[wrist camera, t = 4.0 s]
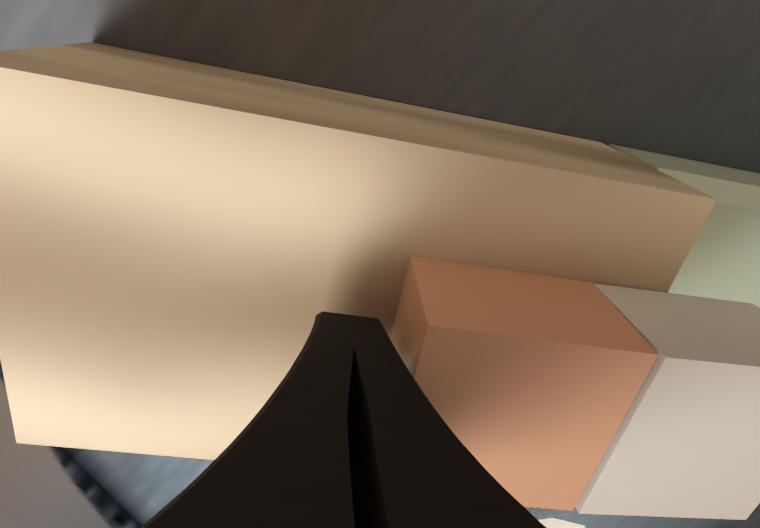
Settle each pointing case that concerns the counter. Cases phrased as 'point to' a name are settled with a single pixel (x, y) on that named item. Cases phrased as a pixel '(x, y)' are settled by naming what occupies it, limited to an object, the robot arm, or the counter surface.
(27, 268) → the wooden box
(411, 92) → the counter surface
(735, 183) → the box
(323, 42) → the counter surface
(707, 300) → the cream square block
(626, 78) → the counter surface
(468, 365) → the terracotta tile
